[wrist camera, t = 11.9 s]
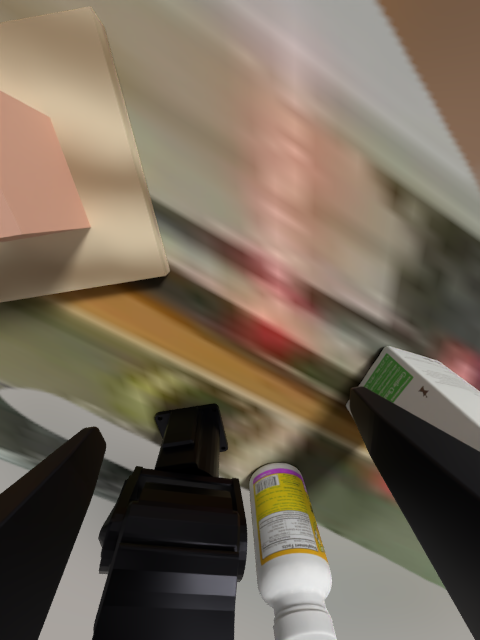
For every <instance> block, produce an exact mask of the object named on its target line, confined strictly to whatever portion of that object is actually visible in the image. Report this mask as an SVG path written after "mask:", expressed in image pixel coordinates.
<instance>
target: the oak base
mask: <svg viewBox="0 0 480 640" xmlns="http://www.w3.org/2000/svg"><path fill="white" fill-rule="evenodd" d="M0 91H2V92H4V93H6V94H8V95H10V96H11V97H13V98H15V99H17V100H19V101H21V102H23V103H24V104H26V105H28V106H30V107H32V108H34V109H35V110H37V111H39V112H41V113H43V114H45V115H46V116H48V117H50V119H51V122H52V124H53V127H54V130H55V133H56V135H57V138H58V141H59V143H60V146H61V149H62V151H63V154H64V157H65V159H66V162H67V165H68V167H69V170H70V173H71V175H72V178H73V181H74V183H75V186H76V189H77V191H78V194H79V197H80V199H81V202H82V205H83V207H84V210H85V213H86V215H87V218H88V221H89V223H90V226H91V227H90V228H84V229H78V230H72V231H66V232H60V233H54V234H48V235H42V236H36V237H30V238H24V239H18V240H12V241H6V242H0V302H6V301H13V300H19V299H25V298H31V297H37V296H43V295H50V294H56V293H62V292H68V291H74V290H80V289H87V288H93V287H99V286H105V285H111V284H118V283H124V282H130V281H136V280H142V279H148V278H155V277H161V276H166V275H167V274H168V273H169V272H170V269H169V265H168V261H167V258H166V254H165V250H164V247H163V243H162V239H161V235H160V232H159V228H158V224H157V221H156V217H155V213H154V209H153V206H152V202H151V198H150V195H149V191H148V187H147V184H146V180H145V176H144V172H143V169H142V165H141V161H140V158H139V154H138V150H137V146H136V143H135V139H134V135H133V132H132V128H131V124H130V120H129V117H128V113H127V109H126V106H125V102H124V98H123V94H122V91H121V87H120V83H119V80H118V76H117V72H116V68H115V65H114V61H113V57H112V54H111V50H110V46H109V42H108V39H107V35H106V31H105V28H104V26H103V24H102V23H101V21H100V20H99V18H98V17H97V15H96V14H95V12H94V11H93V9H92V7H91V6H89V7H83V8H78V9H72V10H67V11H61V12H56V13H50V14H45V15H39V16H34V17H28V18H23V19H17V20H12V21H6V22H1V23H0Z"/></svg>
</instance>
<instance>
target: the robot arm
mask: <svg viewBox="0 0 480 640" xmlns="http://www.w3.org/2000/svg"><path fill="white" fill-rule="evenodd" d="M349 406H350V411H351V414H352V416H353V418H354V420H355V423H356V425H357V427H358V430H359V432H360V434H361V436H362V439H363V441H364V443H365V445H366V448H367V450H368V452H369V454H370V456H371V458H372V460H373V462H374V463H375V465H376V467H377V469H378V470H379V472H380V474H381V476H382V477H383V479H384V481H385V483H386V484H387V486H388V488H389V490H390V491H391V493H392V495H393V497H394V498H395V500H396V502H397V504H398V505H399V507H400V509H401V511H402V513H403V514H404V516H405V518H406V520H407V521H408V523H409V525H410V527H411V528H412V530H413V532H414V534H415V535H416V537H417V539H418V541H419V542H420V544H421V546H422V548H423V549H424V551H425V553H426V555H427V556H428V558H429V560H430V562H431V563H432V565H433V567H434V569H435V570H436V572H437V574H438V576H439V577H440V579H441V581H442V583H443V584H444V586H445V588H446V590H447V591H448V593H449V595H450V597H451V598H452V600H453V602H454V604H455V605H456V607H457V609H458V611H459V612H460V614H461V616H462V618H463V619H464V621H465V623H466V624H467V626H468V628H469V630H470V632H471V633H472V635H473V637H474V639H475V640H480V451H478V450H476V449H474V448H473V447H471V446H469V445H467V444H466V443H464V442H462V441H460V440H458V439H457V438H455V437H453V436H451V435H449V434H448V433H446V432H444V431H442V430H441V429H439V428H437V427H435V426H433V425H432V424H430V423H428V422H426V421H425V420H423V419H421V418H419V417H417V416H416V415H414V414H412V413H410V412H408V411H407V410H405V409H403V408H401V407H400V406H398V405H396V404H394V403H392V402H391V401H389V400H387V399H385V398H384V397H382V396H380V395H378V394H376V393H375V392H373V391H371V390H369V389H368V388H366V387H363V386H359V387H353V388H351V390H350V404H349ZM155 420H156V423H157V425H158V428H159V430H160V433H161V435H162V438H163V441H162V445H161V448H160V452H159V455H158V459H157V463H156V466H155V469H154V470H153V469H145V468H143V467H139V466H136V467H135V470H134V472H133V474H132V475H130V476H129V479H127V480H125V483H124V485H123V488H122V490H121V493H120V496H119V498H118V500H117V502H116V504H115V506H114V508H113V510H112V511H111V513H110V515H109V516H108V518H107V520H106V521H105V523H104V525H103V527H102V528H101V531H100V534H99V538H98V539H99V541H100V544H101V546H102V552H101V562H100V568H99V573H100V574H108V576H107V580H106V583H105V587H104V590H103V594H102V597H101V601H100V605H99V608H98V612H97V615H96V619H95V623H94V635H93V638H92V640H234V617H235V599H236V587H237V582H240V581H241V580H242V577H243V574H244V570H245V564H246V555H247V524H246V518H245V512H244V506H243V501H242V495H241V489H240V484H239V479H237V478H232V479H227V478H219V452H223V451H226V450H227V449H228V443H227V439H226V435H225V431H224V427H223V423H222V418H221V414H220V410H219V407H218V405H217V404H209V405H202V406H196V407H189V408H182V409H176V410H169V411H163V412H158V413H157V414H156V417H155ZM105 451H106V442H105V440H104V438H103V436H102V434H101V432H100V431H99V429H98V428H97V427H88V428H84V429H82V430H81V431H80V432H78V433H77V434H76V435H74V436H73V437H72V438H71V439H69V440H68V441H67V442H66V443H64V444H63V445H62V446H61V447H59V448H58V449H57V450H56V451H54V452H53V453H52V454H50V455H49V456H48V457H47V458H45V459H44V460H43V461H42V462H40V463H39V464H38V465H37V466H35V467H34V468H33V469H32V470H30V471H29V472H28V473H27V474H25V475H24V476H23V477H21V478H20V479H19V480H18V481H17V482H15V483H14V484H13V485H11V486H10V487H9V488H8V489H6V490H5V491H4V492H3V493H1V494H0V640H38V638H39V635H40V632H41V629H42V627H43V625H44V622H45V619H46V617H47V614H48V612H49V609H50V606H51V604H52V601H53V598H54V596H55V593H56V590H57V588H58V585H59V583H60V580H61V577H62V575H63V572H64V569H65V567H66V564H67V562H68V559H69V556H70V554H71V551H72V549H73V546H74V543H75V541H76V538H77V536H78V533H79V530H80V528H81V525H82V522H83V520H84V517H85V515H86V512H87V509H88V507H89V504H90V501H91V498H92V496H93V492H94V489H95V486H96V482H97V479H98V475H99V472H100V468H101V465H102V461H103V458H104V454H105Z"/></svg>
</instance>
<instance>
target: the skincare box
mask: <svg viewBox="0 0 480 640" xmlns="http://www.w3.org/2000/svg"><path fill="white" fill-rule="evenodd" d="M359 386H363V387H366V388H368V389H369V390H371V391H373V392H375V393H376V394H378V395H380V396H382V397H384V398H385V399H387V400H389V401H391V402H392V403H394V404H396V405H398V406H400V407H401V408H403V409H405V410H407V411H408V412H410V413H412V414H414V415H416V416H417V417H419V418H421V419H423V420H425V421H426V422H428V423H430V424H432V425H433V426H435V427H437V428H439V429H441V430H442V431H444V432H446V433H448V434H449V435H451V436H453V437H455V438H457V439H458V440H460V441H462V442H464V443H466V444H467V445H469V446H471V447H473V448H474V449H476V450H478V451H480V391H478V390H477V389H476V388H474V387H473V386H472V385H470V384H469V383H467V382H466V381H465V380H463V379H462V378H461V377H459V376H458V375H457V374H455V373H454V372H453V371H451V370H450V369H449V368H447V367H446V366H444V365H443V364H442V363H440V362H439V361H437V360H434V359H430V358H427V357H424V356H421V355H418V354H414V353H411V352H408V351H404V350H401V349H397V348H394V347H391V346H386V347H384V349H383V350H382V352H381V353H380V355H379V357H378V358H377V360H376V361H375V362H374V364H373V365H372V367H371V368H370V370H369V371H368V373H367V374H366V376H365V377H364V379H363V380H362V382H361V383H360V385H359ZM359 386H358V387H359ZM349 404H350V399H349V401H348V402H347V404H346V407H347V409H348V410H349V412H350V414H351V411H350V406H349ZM351 415H352V414H351ZM352 417H353V416H352ZM353 419H354V418H353Z"/></svg>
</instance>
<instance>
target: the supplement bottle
mask: <svg viewBox="0 0 480 640" xmlns="http://www.w3.org/2000/svg"><path fill="white" fill-rule="evenodd" d="M249 489H250V502H251V513H252V524H253V536H254V547H255V559H256V571H257V583H258V589H259V592H260V594H261V596H262V598H263V600H264V601H265V602H266V603H267V604H268V605H269V606H271V607H272V608H274V614H275V618H274V626H273V628H274V636H275V640H337V638H336V634H335V630H334V626H333V622H332V618H331V616H330V615H329V612H328V610H327V609H326V606H325V602H324V600H325V598H326V597H327V596H328V594H329V592H330V590H331V585H332V577H331V572H330V568H329V564H328V561H327V558H326V554H325V551H324V548H323V544H322V541H321V537H320V534H319V531H318V527H317V524H316V520H315V517H314V513H313V510H312V506H311V503H310V500H309V496H308V493H307V490H306V486H305V483H304V480H303V477H302V474H301V473H300V471H299V470H298V469H297V468H296V467H294V466H292V465H290V464H286V463H271V464H267V465H265V466H262V467H261V468H259V469H258V470H256V471H255V473H254V474H253V475H252V477H251V479H250V483H249Z"/></svg>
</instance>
